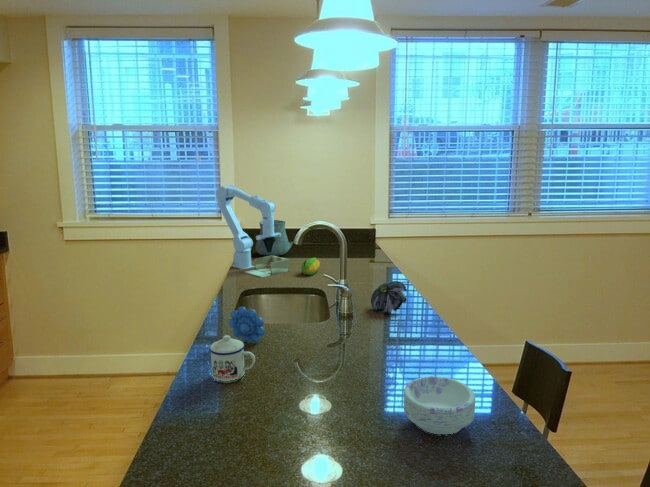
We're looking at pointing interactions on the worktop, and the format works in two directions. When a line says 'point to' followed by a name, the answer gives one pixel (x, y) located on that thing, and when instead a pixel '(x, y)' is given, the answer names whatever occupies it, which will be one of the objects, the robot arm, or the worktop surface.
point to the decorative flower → (388, 297)
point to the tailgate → (257, 273)
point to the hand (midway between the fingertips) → (269, 252)
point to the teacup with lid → (229, 359)
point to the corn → (310, 266)
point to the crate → (272, 265)
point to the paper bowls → (439, 404)
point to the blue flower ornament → (246, 324)
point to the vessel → (280, 243)
